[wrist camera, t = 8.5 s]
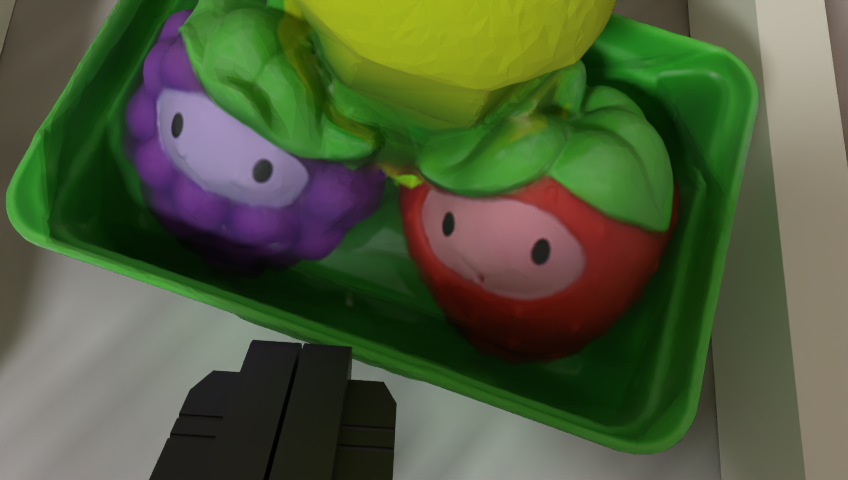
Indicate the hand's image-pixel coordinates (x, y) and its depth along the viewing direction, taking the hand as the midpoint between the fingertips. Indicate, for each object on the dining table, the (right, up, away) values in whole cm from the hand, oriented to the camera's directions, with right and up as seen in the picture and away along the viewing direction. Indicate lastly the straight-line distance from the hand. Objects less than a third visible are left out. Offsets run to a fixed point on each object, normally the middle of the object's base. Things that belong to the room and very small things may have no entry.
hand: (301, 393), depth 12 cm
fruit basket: (+1, +3, +6) cm, 7 cm away
